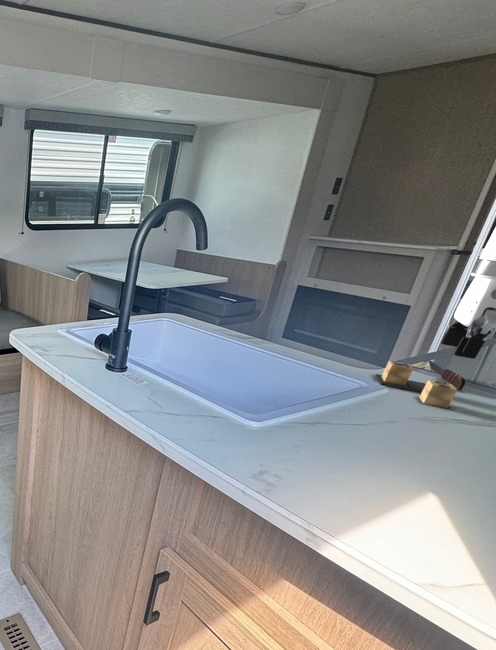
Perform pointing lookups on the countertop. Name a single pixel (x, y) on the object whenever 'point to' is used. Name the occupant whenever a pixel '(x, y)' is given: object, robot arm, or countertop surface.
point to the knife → (448, 376)
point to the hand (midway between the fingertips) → (456, 350)
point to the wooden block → (397, 372)
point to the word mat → (409, 385)
